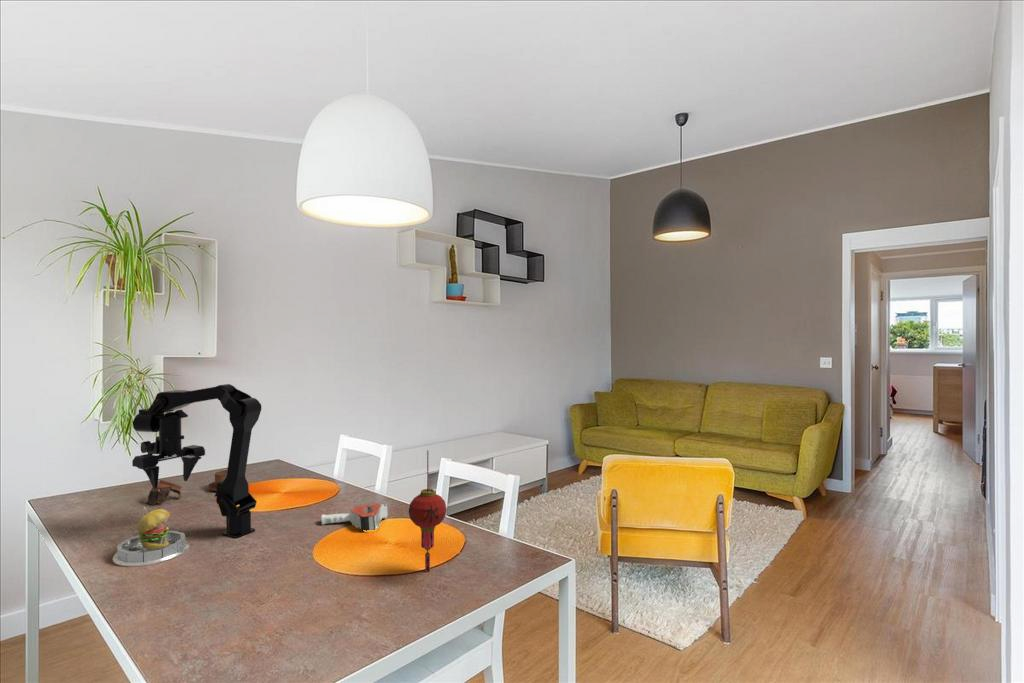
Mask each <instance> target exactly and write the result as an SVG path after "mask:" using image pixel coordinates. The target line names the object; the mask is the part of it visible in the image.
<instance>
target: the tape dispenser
mask: <svg viewBox="0 0 1024 683" xmlns="http://www.w3.org/2000/svg"><path fill="white" fill-rule="evenodd" d="M365 508H367V512H365V510H364V509H365ZM388 513H389V512H388V504H387V503H383V504H381V503H380V504H377V503H376V504H369V505H368V504H367V505H360V506H354V507H352V509H351V511H350V512H348V513H333V514H321V515H320V522H321V525H322V526H324V525H327V524H335V523H336V524H338V523H344V522H351V526H353V525H354V526H357V527H359V528H358V529H360V531H361V530H366V531H367V530H375V529H376V528H377V527H379V526H380V522H382V521H381V520H382V519H384V518H385V519H387V518H388V515H389V514H388ZM379 521H380V522H379ZM354 526H353V527H354Z"/></svg>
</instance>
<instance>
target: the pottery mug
mask: <svg viewBox="0 0 1024 683" xmlns="http://www.w3.org/2000/svg"><path fill="white" fill-rule="evenodd" d="M181 489H182V486H181V485H178V484H176V483H173V482H171V481H167V480H162V479H160V480H159V481H158V485H157V489H154V488H153V487H152V488H151V489H150V490H149V493H148V497H147V500H146V503H148V505H149V504H150V505H152V506H157V502H158V503H160V504H161V503H166V501H167V499H168V497H169V495H170V494H171V492H173V493H176V494H178V497H177V498H178V500H180V499H181V497H182V496H181V495H182V492H181Z"/></svg>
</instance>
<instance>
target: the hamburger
mask: <svg viewBox="0 0 1024 683" xmlns="http://www.w3.org/2000/svg"><path fill="white" fill-rule="evenodd" d="M143 508H144V511H145V512H146V514H144V515H143V516H142V517H141V518H140V519H139V521H138V522H137V531H138V536H140V537H139V540H140V543H141V545H142V546H143V547H145V548H147V549H150V550H153V549H158V548H162V547H165V546H168V545H169V542H168V541H167V538H166V539H165V537H166V536H167V534H168V533H167V531H169V527H168V526H167V522H168V518H169V517H170V515H171V513H170V512H168V510H166V509H164V508H163V509H162V508H158V509H155V510H152V511H149V512H147V509H146V507H145V506H144V507H143ZM163 523H165V524H163ZM162 537H164V538H163V539H162Z"/></svg>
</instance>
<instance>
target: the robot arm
mask: <svg viewBox="0 0 1024 683" xmlns="http://www.w3.org/2000/svg"><path fill="white" fill-rule="evenodd" d="M211 400H212V401H213V400H217V401H219V402H220V404H221V406H222V408H223V409H224V410H225V411H227V412H228V413H229V416H228V418H229V423H230V425H231V427H232V436H231V444H230V449H229V450H230V451H229V456H228V457H229V458H228V463H227V475H226V478H225V480H223V481H221V482H218V483H217V491H215V494H214V497H215V498H216V499H215V500H216V504H217V505H218V507H219V510H220V514H221V516H222V517H226V524H225V525H226V527H225V528H226V530H224V531H222V532H221V534H222V535H223V536H227V537H232V538H235V539H237V538H240V537H242V536H245V535H248V534H250V533H253V532H256V528H253V527H252V512H251V510H253V509H255V508H256V506H257V503H258V502H257V500H256V499H255V498H254V497H253V495H252V494H251V493H250V490H249V487H250V486H249V483H248V481H247V478H246V471H247V465H248V459H249V458H248V456H249V452H250V443H251V437H252V436H251V435H252V430H253V428H254V427H255V426H256V424H257V422H258V421H259V418H260V415H261V412H262V403H261V402H260V401H259V400H258V399H257V398H255V397H252V396H251V395H249V394H248V393H246V392H244V391H242V390H240V389H238V388H236V387H235V386H234V385H232V384H230V383H226V384H219V385H216V386H213V387H211V386H210V387H206V388H200V389H195V390H186V389H175V390H167V391H161V392H158V393H157V394H156V395H155V398H154V400H153V401H152V403H151V405H150V406H149V408H143V409H139V410H138V413H137V414H136V415H135V417H134V418H133V421H132V427H133V429H134V430H135V431H136V432H143V433H145V432H146V433H158V436H156V437H155V441H154V442H151V441H150V440H147V441H142V442H140V452H141V453H142V454H141V455H136V456H134V457H133V459H132V463H131V464H132V467H135V468H137V469H139V470H143V472H144V473H145V474H146V476H147V478H148V480H149V482H150V484H151V486H152V488H154V489H157V485H158V483H159V475H160V474H159V473H160V466H159V462H163V461H167V460H169V461H170V460H173V459H177V458H181V461H182V463H183V466H182V468H183V469H182V472H183V474H182V476H183V478H182V479H183V481H184V482H188V479H189V478H190V476H191V474H192V472H193V470H194V468H195V467H196V465H197V463H198V461H199V460H201V459H202V457H204V456H206V449H205V447H204V446H202V445H195V444H193V445H187V446H183V447H182V440H185V435H182V419H184V418H188V417H189V414H187V413H186V412H184V410H183V409H182V408H184V407H187V406H189V405H191V404H194V403H199V402H206V401H211Z"/></svg>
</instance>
